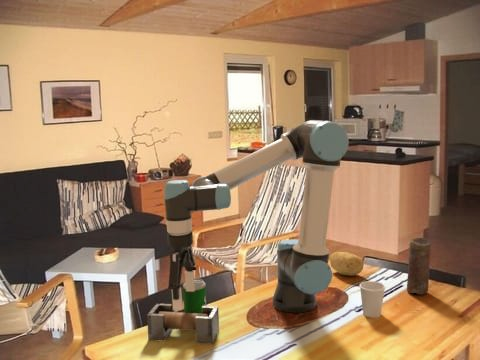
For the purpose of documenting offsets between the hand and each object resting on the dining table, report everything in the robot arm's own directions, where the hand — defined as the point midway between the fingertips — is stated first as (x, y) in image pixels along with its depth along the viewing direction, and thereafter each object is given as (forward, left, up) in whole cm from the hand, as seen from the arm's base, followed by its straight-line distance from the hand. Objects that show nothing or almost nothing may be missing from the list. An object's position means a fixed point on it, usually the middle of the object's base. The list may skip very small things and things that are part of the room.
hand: (184, 299), depth 153 cm
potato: (-51, -61, -12) cm, 80 cm away
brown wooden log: (+1, 0, -10) cm, 10 cm away
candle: (-76, -44, -12) cm, 88 cm away
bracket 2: (-7, 0, -12) cm, 14 cm away
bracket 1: (+8, 0, -12) cm, 14 cm away
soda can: (+1, -14, -12) cm, 19 cm away
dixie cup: (-58, -23, -12) cm, 63 cm away
